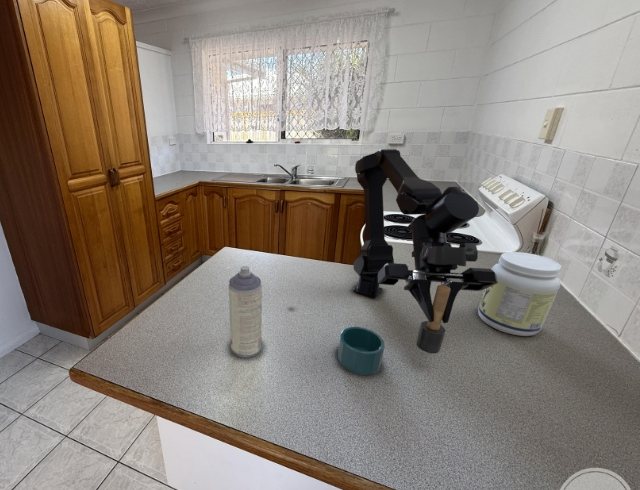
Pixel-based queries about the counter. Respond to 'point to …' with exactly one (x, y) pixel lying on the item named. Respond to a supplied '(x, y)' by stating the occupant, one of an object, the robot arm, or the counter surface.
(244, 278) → the aerosol can
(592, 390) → the counter surface
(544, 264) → the supplement tub
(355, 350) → the teal cup
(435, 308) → the brush
